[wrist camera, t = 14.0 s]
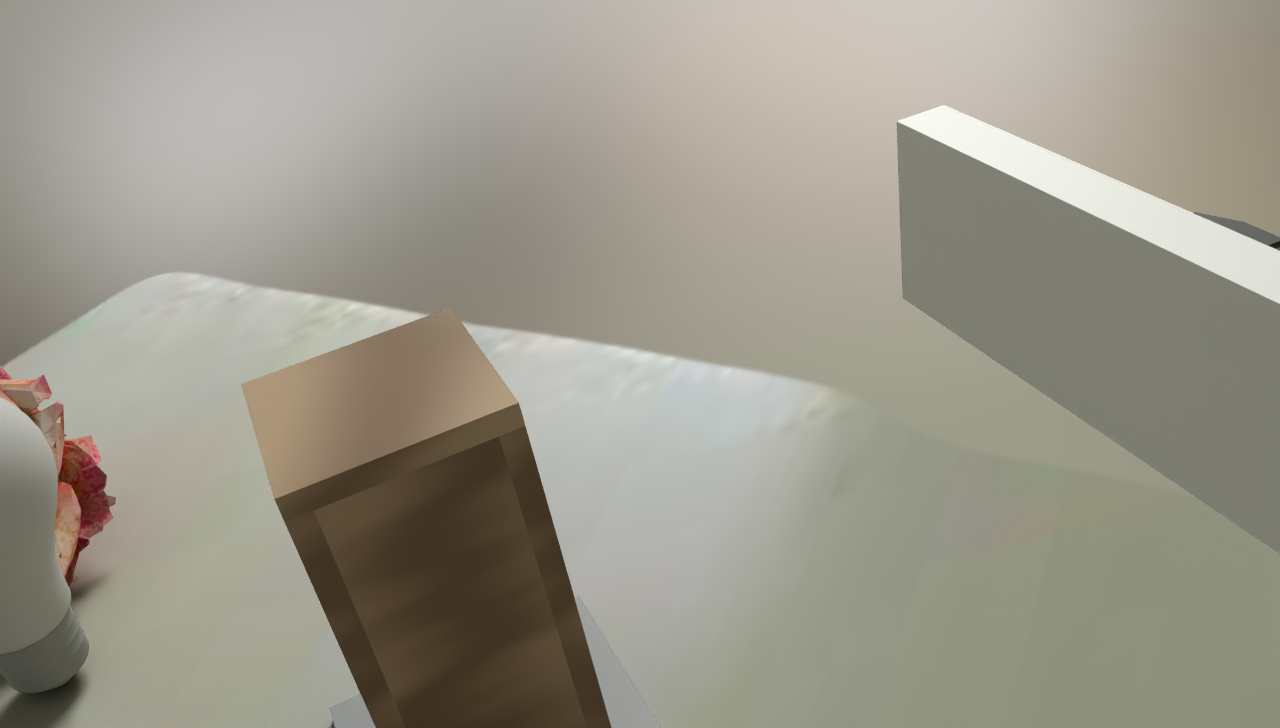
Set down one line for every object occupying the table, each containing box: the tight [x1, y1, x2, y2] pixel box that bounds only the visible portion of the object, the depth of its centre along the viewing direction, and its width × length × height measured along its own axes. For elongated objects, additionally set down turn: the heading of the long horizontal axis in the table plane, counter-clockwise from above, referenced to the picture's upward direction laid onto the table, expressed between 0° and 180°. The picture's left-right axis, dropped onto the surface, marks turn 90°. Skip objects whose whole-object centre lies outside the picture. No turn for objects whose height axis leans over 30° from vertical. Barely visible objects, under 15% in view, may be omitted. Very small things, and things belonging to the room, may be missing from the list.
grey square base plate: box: [330, 597, 661, 728], centre depth 30 cm, size 8×8×7 cm
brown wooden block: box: [241, 308, 612, 728], centre depth 29 cm, size 5×5×12 cm
